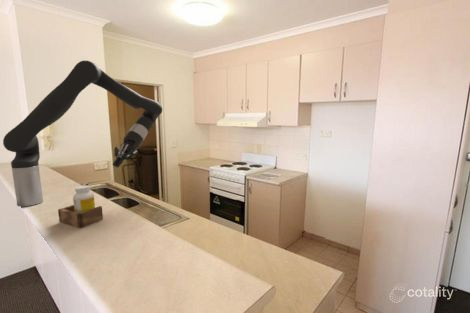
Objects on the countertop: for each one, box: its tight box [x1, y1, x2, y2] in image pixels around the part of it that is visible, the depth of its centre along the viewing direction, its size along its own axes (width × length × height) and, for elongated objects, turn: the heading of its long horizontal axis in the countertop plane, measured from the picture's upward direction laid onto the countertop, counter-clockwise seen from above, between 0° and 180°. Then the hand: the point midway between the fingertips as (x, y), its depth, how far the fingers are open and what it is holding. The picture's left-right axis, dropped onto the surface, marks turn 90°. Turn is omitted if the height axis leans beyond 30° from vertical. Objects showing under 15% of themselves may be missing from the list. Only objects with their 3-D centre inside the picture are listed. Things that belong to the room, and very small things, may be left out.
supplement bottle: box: [72, 185, 96, 213], centre depth 92 cm, size 7×7×13 cm
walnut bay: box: [57, 204, 104, 229], centre depth 91 cm, size 12×9×5 cm
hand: (115, 166), depth 104 cm, fingers closed
